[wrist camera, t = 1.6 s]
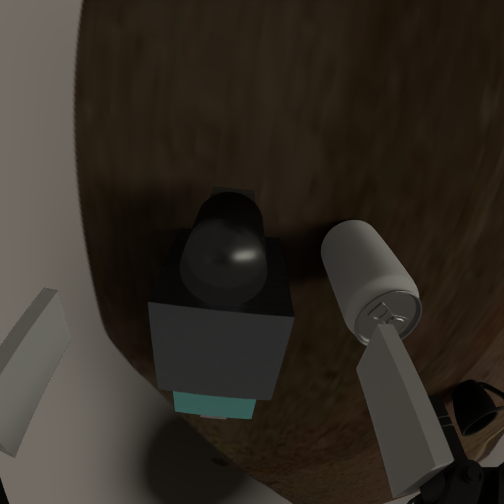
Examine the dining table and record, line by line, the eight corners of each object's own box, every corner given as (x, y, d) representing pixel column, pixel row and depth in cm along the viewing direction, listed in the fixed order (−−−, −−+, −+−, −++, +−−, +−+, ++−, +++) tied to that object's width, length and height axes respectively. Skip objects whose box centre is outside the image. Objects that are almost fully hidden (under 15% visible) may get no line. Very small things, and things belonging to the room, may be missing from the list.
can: (347, 282, 34) (380, 361, 24) (306, 250, 32) (331, 330, 22) (388, 242, 32) (439, 311, 21) (350, 205, 30) (398, 269, 19)
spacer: (184, 337, 34) (173, 390, 28) (255, 345, 35) (256, 398, 28) (184, 360, 36) (175, 411, 29) (250, 367, 37) (251, 418, 30)
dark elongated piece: (205, 176, 23) (180, 227, 15) (265, 182, 23) (273, 236, 15) (196, 396, 35) (188, 460, 27) (233, 399, 35) (230, 464, 27)
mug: (488, 384, 48) (505, 417, 40) (443, 406, 50) (458, 441, 42) (497, 361, 45) (518, 396, 36) (449, 384, 46) (468, 423, 38)
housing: (180, 228, 31) (147, 301, 20) (280, 238, 32) (294, 317, 21) (179, 306, 36) (158, 388, 25) (265, 315, 36) (270, 400, 26)
